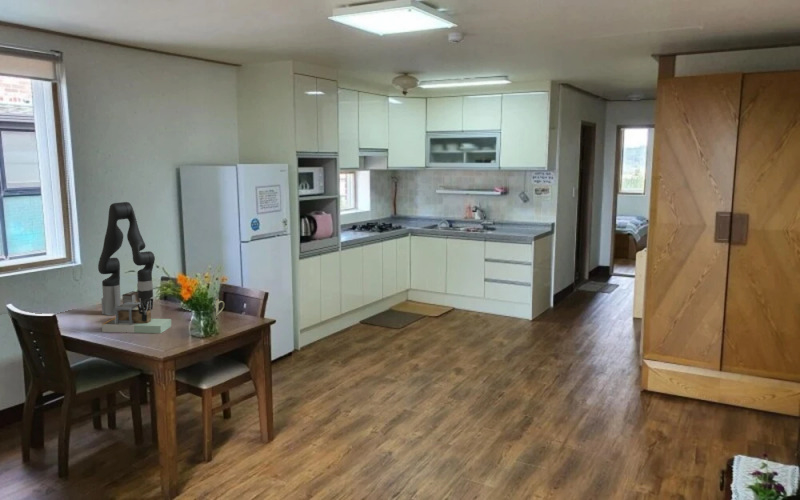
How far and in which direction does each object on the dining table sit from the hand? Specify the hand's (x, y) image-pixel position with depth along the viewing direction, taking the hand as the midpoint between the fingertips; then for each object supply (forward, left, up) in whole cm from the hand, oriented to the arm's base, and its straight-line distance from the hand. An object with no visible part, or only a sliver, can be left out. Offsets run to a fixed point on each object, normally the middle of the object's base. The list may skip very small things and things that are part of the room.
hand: (146, 319), depth 313 cm
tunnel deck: (-5, 0, -5) cm, 7 cm away
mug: (+28, +22, -6) cm, 36 cm away
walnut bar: (-7, 0, -1) cm, 7 cm away
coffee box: (-15, +16, -6) cm, 22 cm away
